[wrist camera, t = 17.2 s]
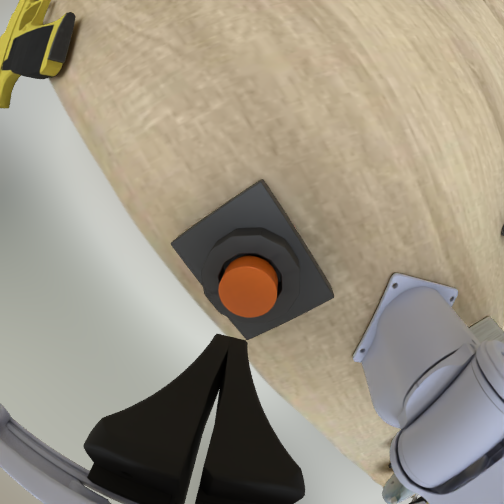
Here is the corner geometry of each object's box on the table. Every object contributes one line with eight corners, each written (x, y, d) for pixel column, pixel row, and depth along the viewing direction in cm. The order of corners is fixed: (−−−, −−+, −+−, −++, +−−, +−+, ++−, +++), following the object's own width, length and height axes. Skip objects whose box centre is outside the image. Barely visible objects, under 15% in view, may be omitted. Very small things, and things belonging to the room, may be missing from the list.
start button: (288, 288, 18) (288, 302, 16) (244, 311, 19) (240, 326, 17) (258, 245, 17) (255, 255, 15) (213, 272, 18) (206, 284, 17)
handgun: (120, -90, 4) (37, -44, 6) (37, 87, 13) (-24, 117, 15) (132, -78, 8) (50, -38, 9) (63, 91, 17) (-4, 115, 18)
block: (331, 287, 21) (338, 310, 18) (249, 328, 23) (244, 355, 20) (262, 178, 19) (258, 183, 15) (177, 236, 21) (159, 252, 18)
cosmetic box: (485, 348, 22) (527, 415, 11) (458, 365, 23) (496, 438, 12) (489, 312, 20) (546, 381, 9) (460, 330, 21) (512, 410, 10)
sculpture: (519, 443, 13) (368, 489, 26) (517, 483, 9) (369, 523, 22) (504, 423, 24) (395, 461, 37) (505, 454, 20) (397, 488, 33)
